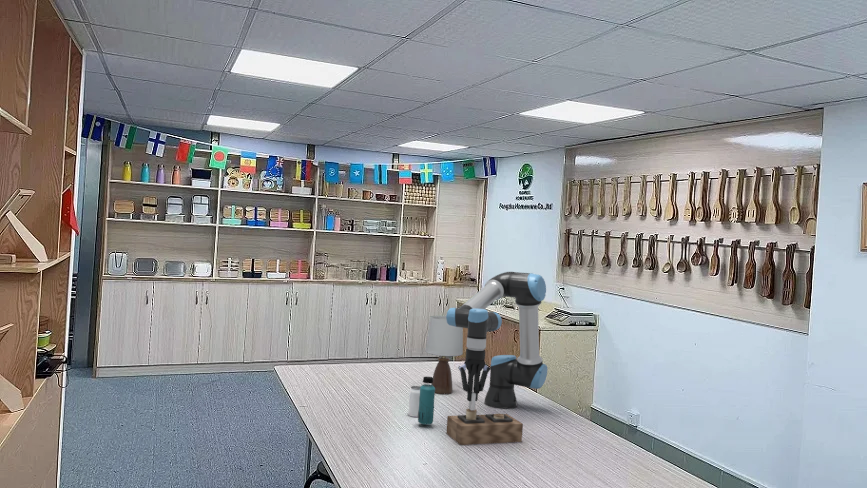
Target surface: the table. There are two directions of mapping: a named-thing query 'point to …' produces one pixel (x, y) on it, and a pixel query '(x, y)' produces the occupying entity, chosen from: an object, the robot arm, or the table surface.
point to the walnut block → (484, 429)
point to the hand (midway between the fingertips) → (471, 409)
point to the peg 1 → (471, 414)
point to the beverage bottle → (426, 402)
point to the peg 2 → (498, 416)
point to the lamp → (443, 350)
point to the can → (414, 401)
